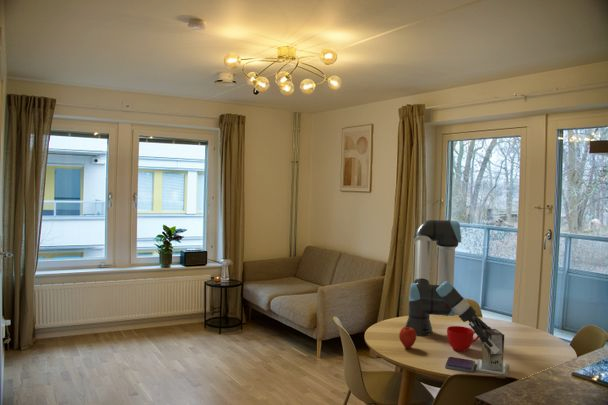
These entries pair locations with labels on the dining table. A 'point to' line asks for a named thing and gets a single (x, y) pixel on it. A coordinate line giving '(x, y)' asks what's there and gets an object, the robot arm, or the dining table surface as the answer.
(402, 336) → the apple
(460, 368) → the ink pad
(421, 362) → the dining table surface
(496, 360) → the coffee box
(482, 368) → the marked board
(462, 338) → the ceramic cup
